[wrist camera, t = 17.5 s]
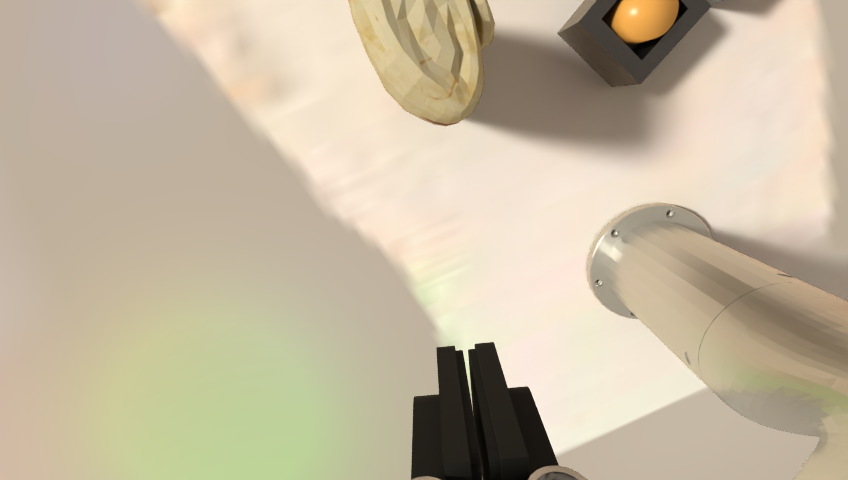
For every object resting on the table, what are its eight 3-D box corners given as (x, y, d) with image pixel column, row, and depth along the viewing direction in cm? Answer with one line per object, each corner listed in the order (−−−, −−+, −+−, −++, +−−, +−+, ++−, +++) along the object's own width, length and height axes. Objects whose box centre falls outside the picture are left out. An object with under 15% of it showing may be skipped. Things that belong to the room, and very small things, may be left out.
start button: (655, 19, 33) (689, 6, 29) (621, 58, 34) (649, 50, 30) (624, -14, 32) (655, -33, 28) (590, 27, 33) (615, 15, 29)
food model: (361, 38, 35) (288, -45, 16) (425, -9, 34) (429, -158, 15) (421, 134, 37) (419, 163, 18) (482, 94, 36) (547, 81, 17)
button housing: (671, 19, 34) (711, 5, 30) (611, 86, 36) (640, 83, 31) (616, -40, 33) (649, -64, 28) (557, 33, 35) (578, 21, 30)
